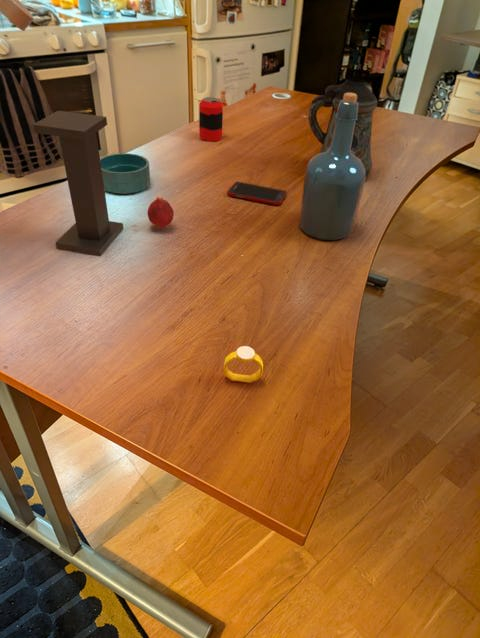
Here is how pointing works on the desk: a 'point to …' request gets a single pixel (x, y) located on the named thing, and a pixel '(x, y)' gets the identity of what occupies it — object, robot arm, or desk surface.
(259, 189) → the cell phone
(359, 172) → the wine bottle
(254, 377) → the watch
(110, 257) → the desk surface
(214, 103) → the soda can
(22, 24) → the grey scoop
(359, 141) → the beer stein
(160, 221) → the onion
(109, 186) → the bowl
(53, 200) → the desk surface
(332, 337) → the desk surface
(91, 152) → the brown pedestal stand
